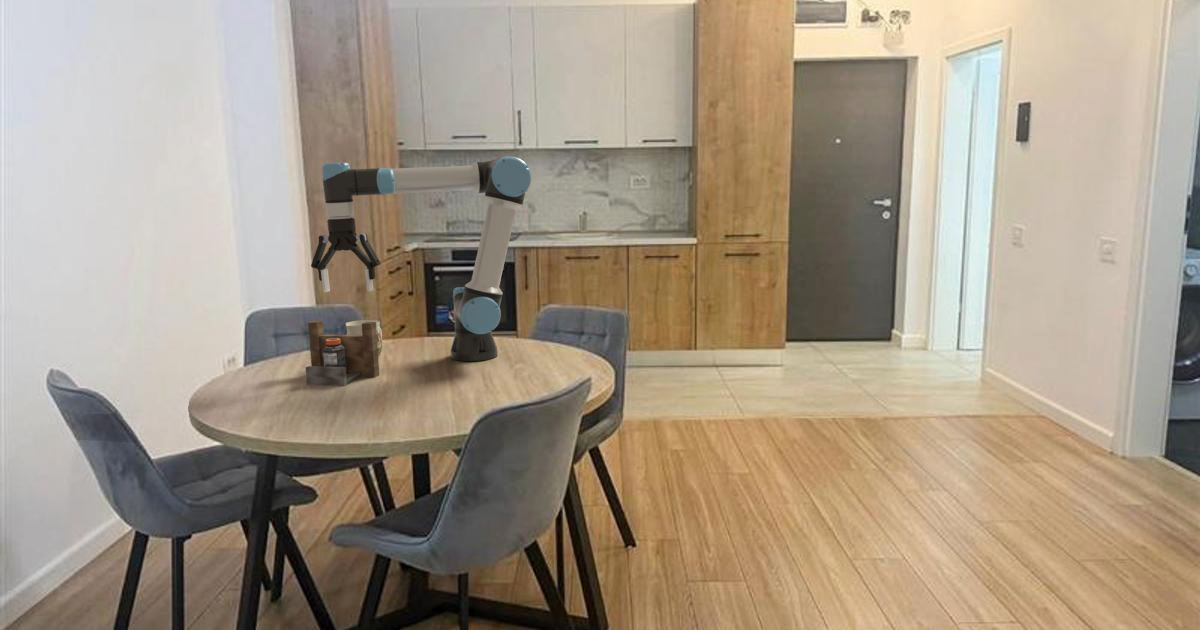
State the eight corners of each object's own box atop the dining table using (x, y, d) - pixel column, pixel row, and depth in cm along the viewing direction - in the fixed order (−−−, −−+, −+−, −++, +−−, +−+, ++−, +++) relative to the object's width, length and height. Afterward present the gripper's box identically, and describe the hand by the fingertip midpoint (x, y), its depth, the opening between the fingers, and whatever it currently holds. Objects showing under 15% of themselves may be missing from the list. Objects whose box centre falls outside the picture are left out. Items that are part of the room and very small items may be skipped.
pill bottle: (341, 373, 230) (338, 336, 228) (350, 376, 226) (347, 338, 224) (321, 377, 226) (318, 339, 224) (330, 380, 222) (327, 341, 220)
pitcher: (397, 357, 254) (394, 316, 252) (366, 370, 237) (363, 326, 235) (367, 356, 257) (364, 315, 255) (335, 368, 240) (332, 325, 238)
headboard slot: (379, 374, 231) (375, 321, 229) (358, 386, 219) (354, 330, 216) (317, 372, 235) (313, 320, 232) (293, 383, 222) (288, 328, 220)
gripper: (387, 215, 224) (394, 288, 228) (307, 218, 228) (315, 290, 232) (376, 217, 217) (383, 292, 220) (293, 220, 221) (301, 294, 225)
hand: (348, 291), depth 226 cm, fingers open, 13 cm apart
